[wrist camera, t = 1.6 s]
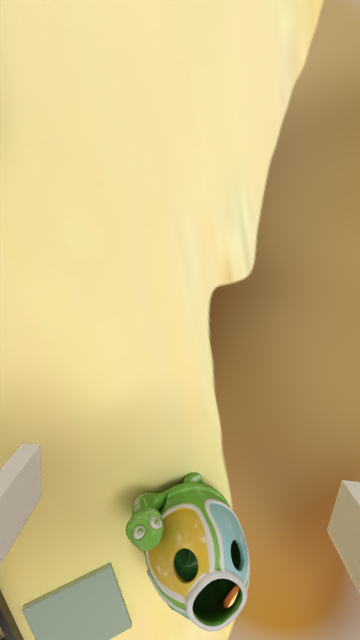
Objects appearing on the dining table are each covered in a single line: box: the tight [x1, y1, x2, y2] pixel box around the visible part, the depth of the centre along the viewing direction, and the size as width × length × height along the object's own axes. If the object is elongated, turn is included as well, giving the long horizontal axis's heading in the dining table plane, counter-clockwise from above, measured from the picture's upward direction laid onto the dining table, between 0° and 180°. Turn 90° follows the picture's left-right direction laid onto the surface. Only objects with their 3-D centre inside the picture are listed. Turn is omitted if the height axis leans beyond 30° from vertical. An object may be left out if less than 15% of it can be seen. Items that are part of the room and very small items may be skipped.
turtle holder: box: [126, 473, 250, 631], centre depth 34 cm, size 12×18×12 cm
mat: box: [22, 563, 132, 640], centre depth 37 cm, size 11×11×1 cm
